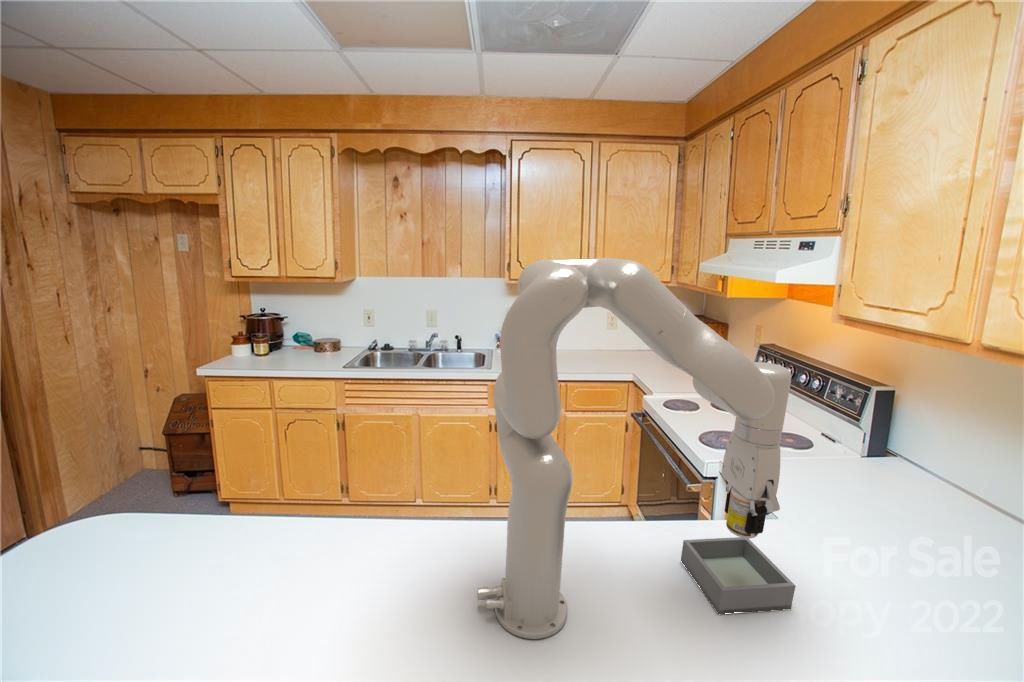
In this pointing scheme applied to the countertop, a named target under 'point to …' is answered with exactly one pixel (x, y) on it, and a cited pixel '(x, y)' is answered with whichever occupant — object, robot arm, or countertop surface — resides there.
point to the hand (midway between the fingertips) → (742, 521)
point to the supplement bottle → (739, 514)
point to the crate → (737, 575)
